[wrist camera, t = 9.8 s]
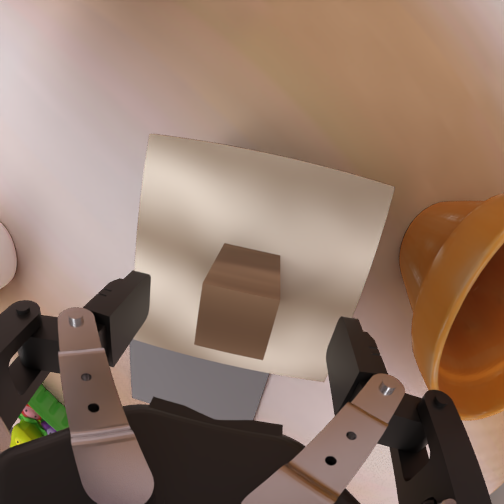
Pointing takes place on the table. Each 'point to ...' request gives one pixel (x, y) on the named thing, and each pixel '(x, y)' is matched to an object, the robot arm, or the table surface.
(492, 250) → the flower pot
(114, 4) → the table surface
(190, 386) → the mat
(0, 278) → the cup
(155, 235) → the lid
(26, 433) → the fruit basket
